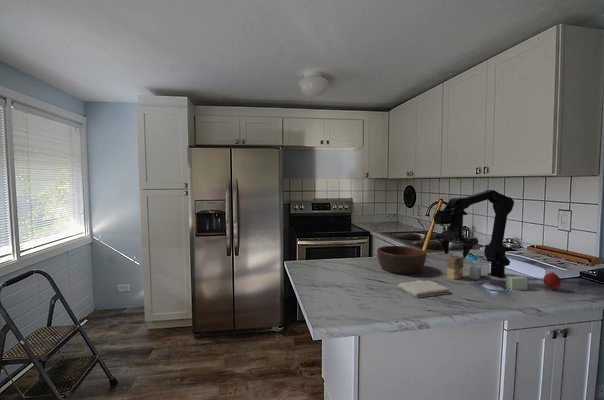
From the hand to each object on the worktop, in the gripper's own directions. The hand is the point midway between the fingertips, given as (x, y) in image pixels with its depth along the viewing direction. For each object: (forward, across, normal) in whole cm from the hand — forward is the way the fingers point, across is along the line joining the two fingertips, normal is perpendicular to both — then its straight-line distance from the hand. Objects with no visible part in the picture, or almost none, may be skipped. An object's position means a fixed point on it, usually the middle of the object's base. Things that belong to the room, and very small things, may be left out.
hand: (455, 256), depth 141 cm
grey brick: (+11, +4, +10) cm, 15 cm away
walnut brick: (+6, 0, 0) cm, 6 cm away
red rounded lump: (+11, +30, +22) cm, 39 cm away
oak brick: (+11, 0, 0) cm, 11 cm away
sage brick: (+11, +22, +10) cm, 27 cm away
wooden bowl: (+11, -23, -12) cm, 28 cm away
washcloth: (+12, +5, -29) cm, 31 cm away
